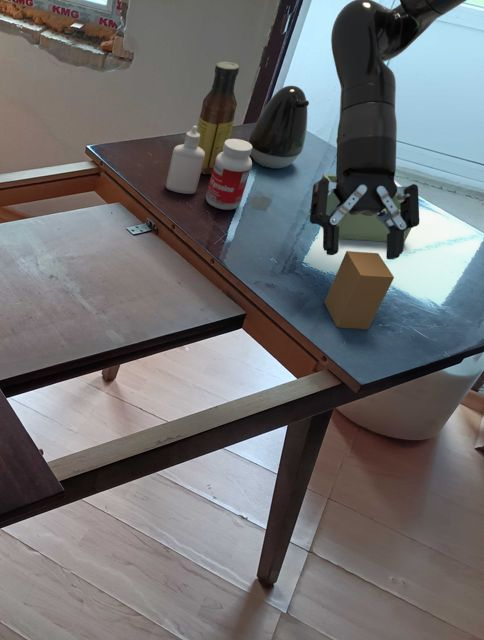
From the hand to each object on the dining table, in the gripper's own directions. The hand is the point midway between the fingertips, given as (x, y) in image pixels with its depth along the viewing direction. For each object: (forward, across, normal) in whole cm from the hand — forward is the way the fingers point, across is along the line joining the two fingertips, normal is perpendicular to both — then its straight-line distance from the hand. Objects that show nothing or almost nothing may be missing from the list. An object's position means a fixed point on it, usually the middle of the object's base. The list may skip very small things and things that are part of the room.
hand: (362, 256), depth 96 cm
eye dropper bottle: (-18, -19, +30) cm, 40 cm away
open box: (-12, +11, +24) cm, 29 cm away
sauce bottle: (-24, -13, +36) cm, 45 cm away
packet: (+8, 0, +4) cm, 9 cm away
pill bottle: (-15, -12, +27) cm, 33 cm away
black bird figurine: (-27, +1, +40) cm, 48 cm away
